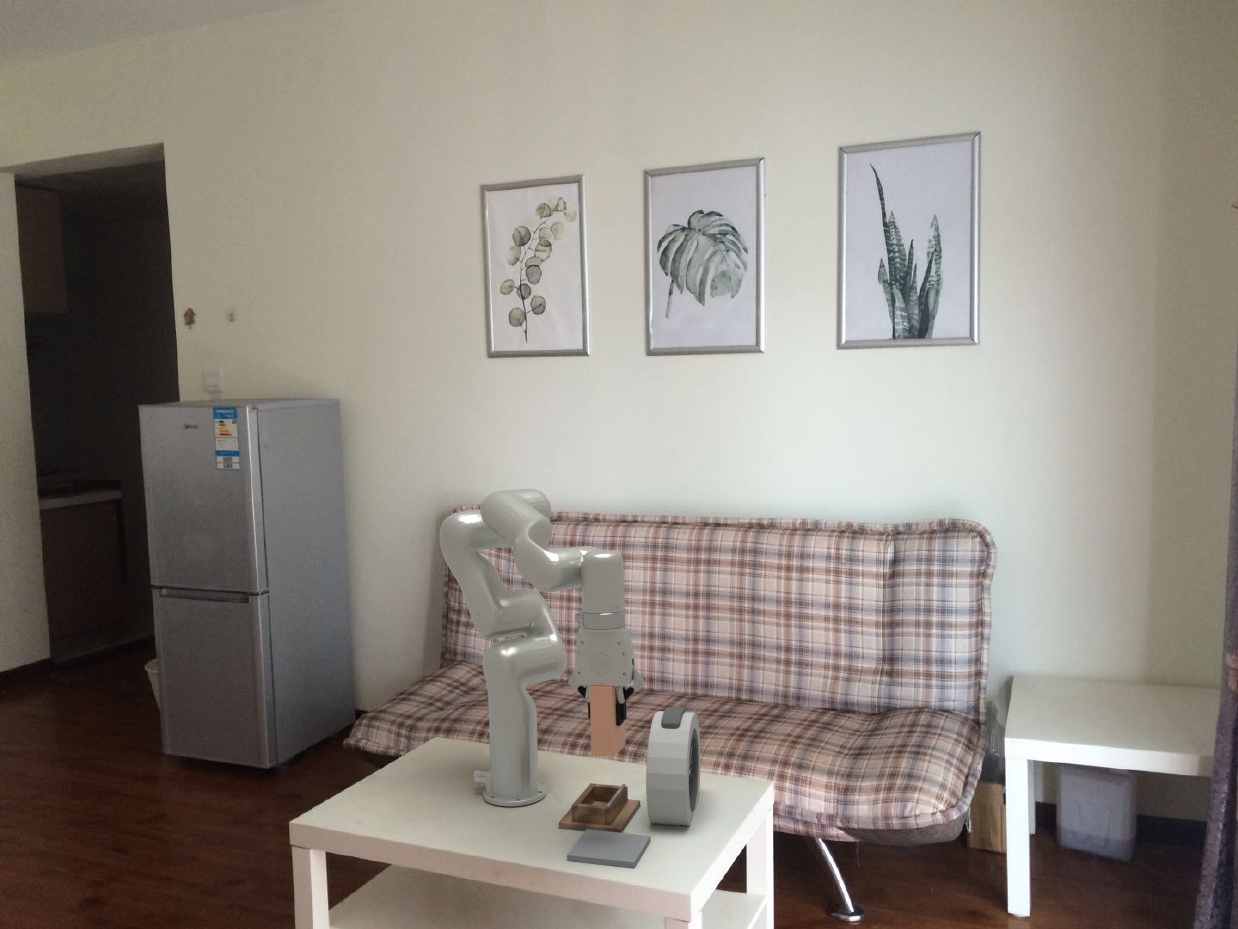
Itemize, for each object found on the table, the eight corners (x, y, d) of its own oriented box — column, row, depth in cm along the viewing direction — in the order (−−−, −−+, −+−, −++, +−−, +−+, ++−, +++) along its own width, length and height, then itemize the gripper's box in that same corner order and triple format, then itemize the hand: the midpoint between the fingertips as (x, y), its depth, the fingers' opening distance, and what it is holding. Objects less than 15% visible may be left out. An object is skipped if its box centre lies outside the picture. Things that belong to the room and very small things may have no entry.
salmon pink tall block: (591, 755, 173) (589, 686, 173) (604, 743, 181) (602, 677, 181) (613, 757, 172) (611, 687, 172) (625, 744, 180) (623, 678, 180)
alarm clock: (687, 835, 180) (685, 727, 179) (646, 832, 182) (644, 725, 181) (701, 791, 201) (699, 695, 200) (664, 789, 202) (663, 693, 202)
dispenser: (558, 828, 184) (558, 803, 184) (582, 800, 198) (581, 776, 197) (620, 834, 181) (620, 809, 181) (640, 805, 194) (640, 782, 194)
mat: (567, 860, 170) (567, 855, 170) (586, 834, 181) (586, 829, 181) (634, 868, 167) (634, 862, 167) (650, 841, 178) (650, 836, 178)
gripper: (552, 624, 174) (556, 727, 175) (645, 625, 170) (648, 731, 170) (565, 616, 181) (569, 715, 182) (654, 617, 177) (658, 719, 178)
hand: (607, 722), depth 176 cm, fingers closed on salmon pink tall block, 4 cm apart
